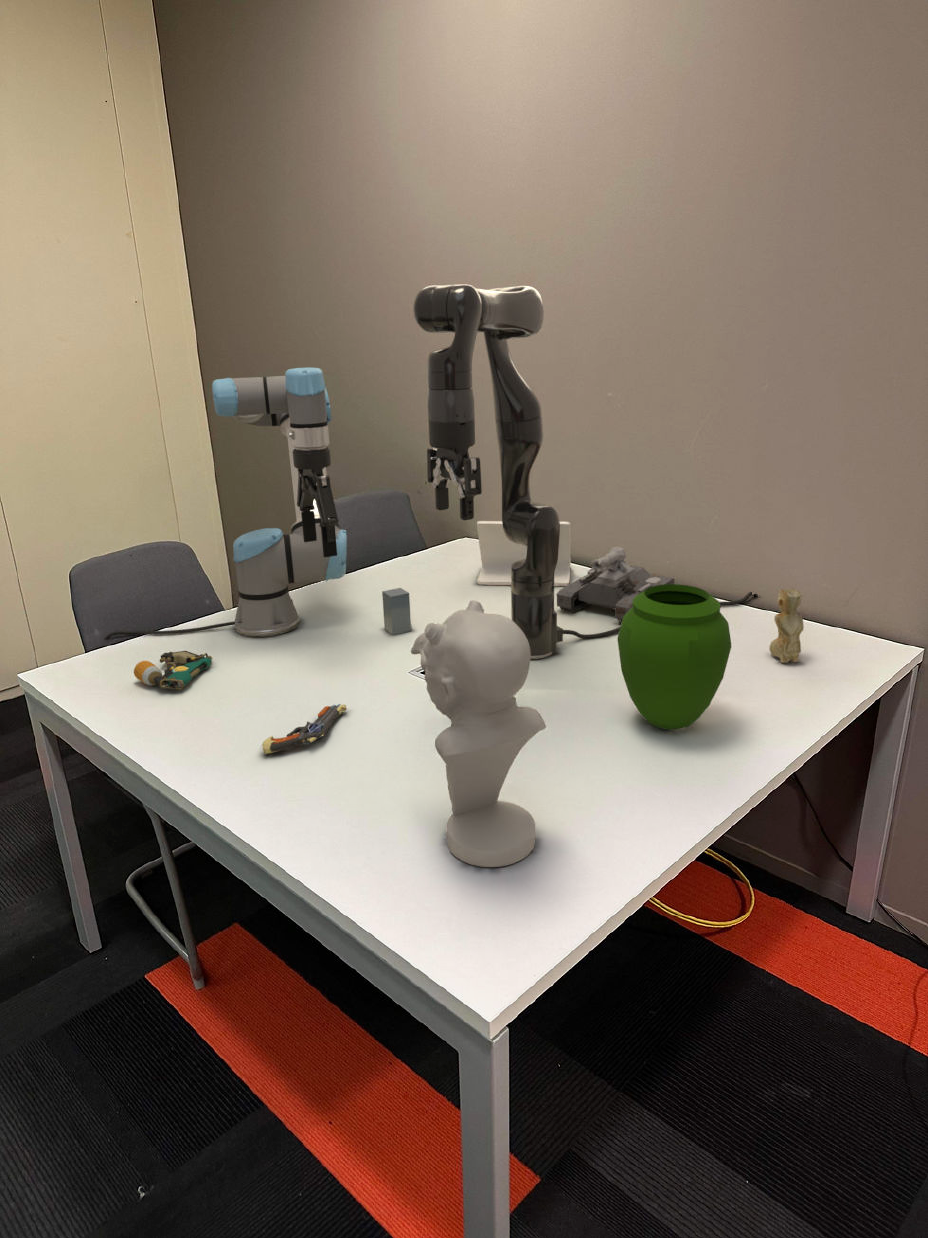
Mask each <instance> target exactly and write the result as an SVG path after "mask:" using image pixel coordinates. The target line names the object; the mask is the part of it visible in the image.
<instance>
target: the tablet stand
mask: <svg viewBox="0 0 928 1238" xmlns="http://www.w3.org/2000/svg"><path fill="white" fill-rule="evenodd" d="M476 531H477V537H478V544H479V551H480V557H481V558H480V559H481V570H480V573H479V575H478V577H477V580H476V581H477V582H476V584H478V585H484V586H485V585H486V586H487V585H489V586H490V585H491V586H511V567H512V564H513V563H515V562H516V561H519V560H522V559H526V555H527V546H524V545H520V544H517V543H514V542H512V541H510V540H509V539H508V538H507V537H506V535H505V533H504V530H503V524H502V520H477V522H476ZM571 560H572V558H571V522H569V521H560V536H559V551H558V561H557V565H556V568H555V572H554V587H556V586H557V587H566V586H567V585H569V584H570V580H571V579H570V578H571V565H572V564H571Z"/></svg>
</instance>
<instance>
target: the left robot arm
mask: <svg viewBox="0 0 928 1238" xmlns="http://www.w3.org/2000/svg"><path fill="white" fill-rule="evenodd" d="M211 389H212V399H213V406H214V411H215V413H216V415H217V416H218V417H230V418H231V417H233V419H234V420H236V421H238V422H241V423H243V424H247V425H252V426H257V427H279V430H280V433H281V434H282V435H283V436H285V437H286V438H287V445H288V446H287V447H288V455H289V463H290V464H289V465H290V472H291V473H290V474H291V480H292V483H291V484H292V491H293V501H294V509H295V519H296V521H295V522H294V523H293V524H292V525H291V527H290V531H291V533H290V534H284V532H283V531H282V529H280V528H277V527H266V528H260V529H255V530H251V531H250V532H246V533H244V534H241V535H240V536H238V537H237V538H236V539H235V540H234V541H233V545H232V550H233V558H232V560H233V562H234V566H235V574H236V575H235V576H236V583H237V591H238V592H237V593H238V603H237V606H236V612H235V617H234V620H233V621H228V622H227V621H226V622H222V623H216V624H211V625H206V626H205V625H204V626H200V627H193V628H185V629H172V630H171V629H170V630H115V631H112V632H109V633H108V634H107V635H106V636H105V637H104V638H103V641H107V640H109V639H110V638H111V637H113V636H116V635H127V636H128V635H129V636H130V635H171V634H173V635H174V634H175V635H176V634H185V633H193V632H201V631H207V630H213V629H217V628H223V627H229V626H230V627H231V626H234V630H235V632H236V633H237V634H239V635H241V636H244V637H250V638H267V637H274V636H280V635H283V634H286V633H289V632H292V631H293V630H295V629H296V628H297V627H298V626H299V625H300V615H299V613H298V610H297V609H296V606H295V604H294V601H293V599H292V598H291V595H290V593H289V584H300V583H309V582H321V581H326V582H328V581H331V580H337V579H341V578H343V577H345V574H346V572H347V548H348V547H347V546H348V545H347V542H348V541H347V540H348V538H347V535H348V534H347V530H346V529H343V528H341V527H340V523H339V518H338V513H337V509H336V504H335V500H334V496H333V491H332V486H331V478H330V475H329V474H328V472H327V468H329V467H330V466H331V464H332V459H331V449H330V447H328V446H329V445H330V432H329V424H330V423H331V422H332V417H333V416H332V408H331V403H330V398H329V395H328V389H327V388H326V382H325V379H324V373H323V370H322V369H321V368H319V367H296V368H289V369H287V370H286V371H285V374H284V375H273V376H257V377H256V376H255V377H225V378H218V379H214V380H213V381H212V384H211Z"/></svg>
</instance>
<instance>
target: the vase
mask: <svg viewBox="0 0 928 1238" xmlns="http://www.w3.org/2000/svg"><path fill="white" fill-rule="evenodd" d="M719 602H720V601H719V599H717V598H715V596H713V595H711V594H710V593H708V591H706V590H705V589H702V588H699V587H697V586H692V585H687V584H677V583H676V584H675V583H674V584H667V585H658V586H653V587H650V588H648V589H646V590H645V591H644V592H642V593H640V594H639V595H637V596H635V597H634V599H633V607H632V608H631V609H630V610H629V611H628V612H627V613H626V614H625V615H624V616H623V620H622V621H621V624H620V626H621V627H620V626H619V627H620V631H619V632H618V635H617V637H616V639H617V646H618V647H617V648H618V653H619V663H620V669H621V670H620V671H621V674H622V676H623V680H624V682H625V686H626V688H627V691H628V694H629V698H630V700H631V702H632V703H633V705H634V706H635V708H636V710H637V711H638V713H639V715H640V716H641V717H642V718H643V719H644V720H645V721H646V722H647V723H648V724H649V725H651V726H653V727H656V728H659V729H661V730H671V731H672V730H681V729H686V728H689V727H690V726H691V725H692V724H694V723H695V722H696V721H697V720H698V719H699V718H700V717H701V716H702V715H703V714H704V713H705V711H706V710H707V709H708V708H709V706H710V705H711V703H712V701H713V699H714V697H715V695H716V694H717V691H718V689H719V688H720V685H721V683H722V681H723V679H724V676H725V673H726V669H727V665H728V661H729V658H730V654H731V650H732V638H731V632H730V626H729V622H728V620H727V619H726V617H725V616H724V615H723V613H721V606H720V603H719Z"/></svg>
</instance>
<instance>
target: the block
mask: <svg viewBox="0 0 928 1238" xmlns="http://www.w3.org/2000/svg"><path fill="white" fill-rule="evenodd" d="M381 595H382V596H381V597H382V609H383V611H382V612H383V624H384V625H383V626H384V630H385V631H386V632H387V633H389V634H390V635H392V636H395V635H401V634H404V633H408V632H412V624H411V623H412V621H411V601H410V592H409V591H407V590H405V589H403V588H402V587H397V588H392V589H388V590H387V589H386V590H382V591H381Z"/></svg>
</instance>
